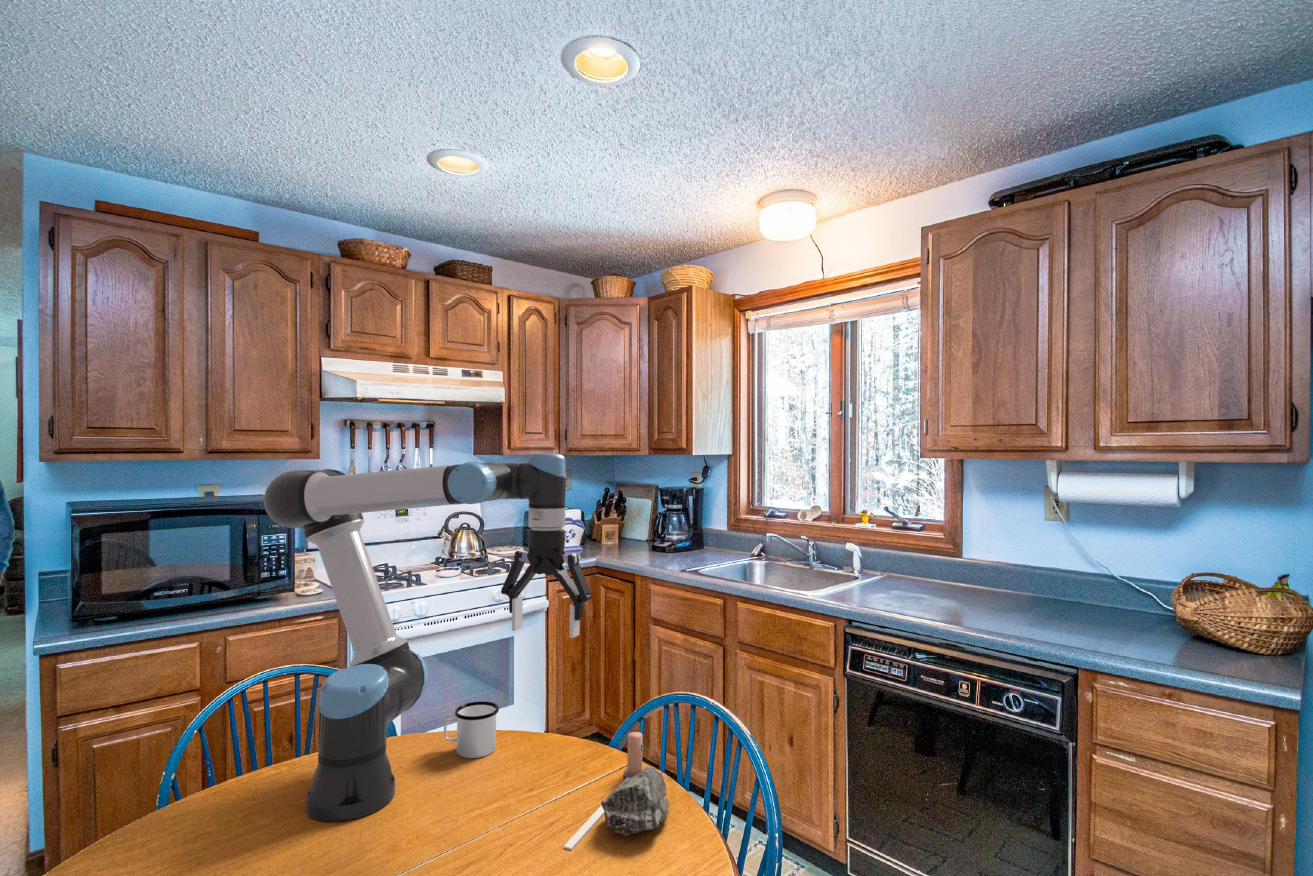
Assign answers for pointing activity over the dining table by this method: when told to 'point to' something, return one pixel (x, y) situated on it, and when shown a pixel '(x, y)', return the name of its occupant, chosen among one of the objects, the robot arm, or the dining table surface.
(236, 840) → the dining table surface
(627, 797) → the rock
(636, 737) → the crank handle
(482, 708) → the mug
